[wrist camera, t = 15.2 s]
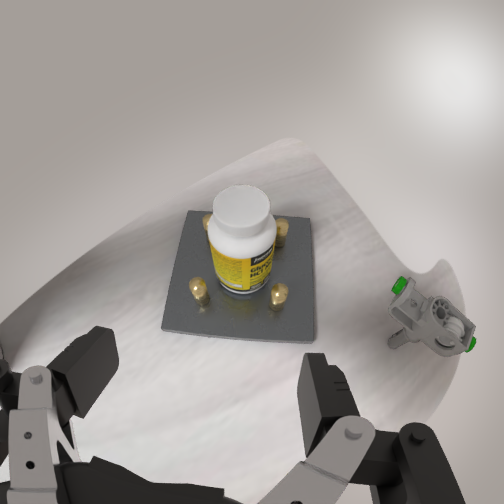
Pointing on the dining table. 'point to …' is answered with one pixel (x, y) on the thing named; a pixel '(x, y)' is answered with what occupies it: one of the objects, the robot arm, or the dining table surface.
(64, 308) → the dining table surface
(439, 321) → the mechanical component
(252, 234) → the pill bottle
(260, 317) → the plate
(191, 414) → the dining table surface
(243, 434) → the dining table surface
